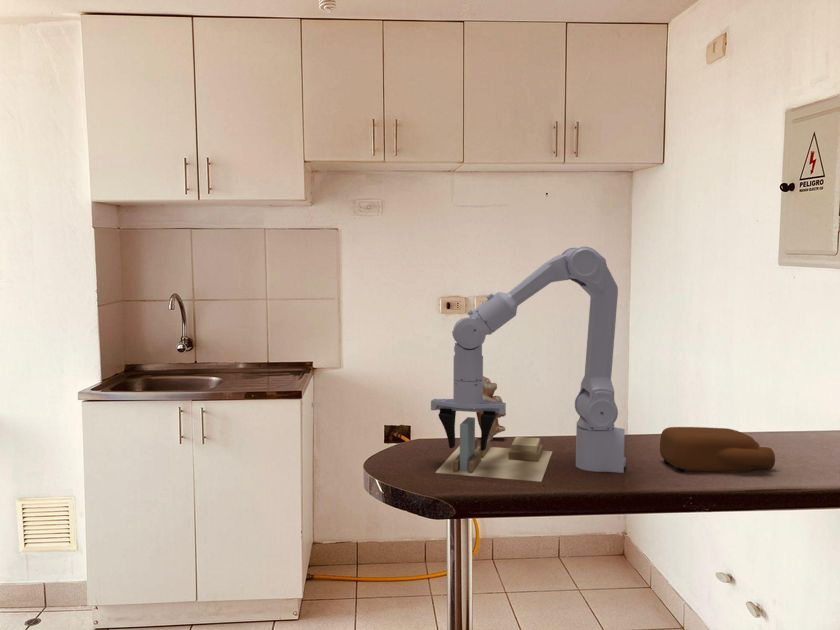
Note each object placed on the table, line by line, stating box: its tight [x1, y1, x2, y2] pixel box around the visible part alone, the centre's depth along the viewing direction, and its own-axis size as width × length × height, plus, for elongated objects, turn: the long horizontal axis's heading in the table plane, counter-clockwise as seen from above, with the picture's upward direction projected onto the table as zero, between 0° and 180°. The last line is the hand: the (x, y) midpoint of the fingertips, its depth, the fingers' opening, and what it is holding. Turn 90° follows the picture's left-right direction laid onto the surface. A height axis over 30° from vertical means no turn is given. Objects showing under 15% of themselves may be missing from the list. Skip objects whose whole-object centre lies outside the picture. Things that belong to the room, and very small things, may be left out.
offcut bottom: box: [508, 444, 543, 462], centre depth 148 cm, size 6×8×2 cm
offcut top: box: [510, 436, 541, 454], centre depth 148 cm, size 5×7×2 cm
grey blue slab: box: [459, 416, 476, 472], centre depth 140 cm, size 2×7×9 cm, turn 164°
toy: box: [659, 426, 776, 473], centre depth 144 cm, size 15×8×20 cm
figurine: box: [475, 375, 507, 441], centre depth 163 cm, size 6×8×15 cm
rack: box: [435, 436, 553, 487], centre depth 144 cm, size 20×22×3 cm
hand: (467, 448), depth 140 cm, fingers open, 6 cm apart
